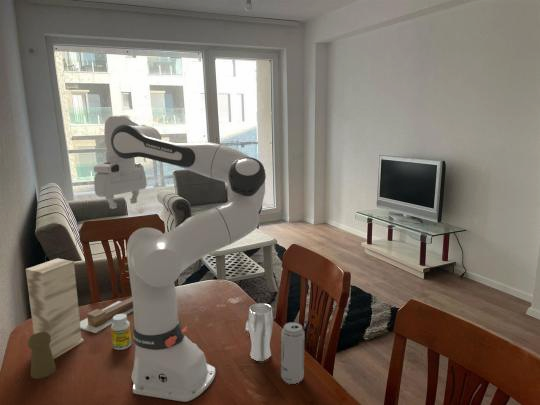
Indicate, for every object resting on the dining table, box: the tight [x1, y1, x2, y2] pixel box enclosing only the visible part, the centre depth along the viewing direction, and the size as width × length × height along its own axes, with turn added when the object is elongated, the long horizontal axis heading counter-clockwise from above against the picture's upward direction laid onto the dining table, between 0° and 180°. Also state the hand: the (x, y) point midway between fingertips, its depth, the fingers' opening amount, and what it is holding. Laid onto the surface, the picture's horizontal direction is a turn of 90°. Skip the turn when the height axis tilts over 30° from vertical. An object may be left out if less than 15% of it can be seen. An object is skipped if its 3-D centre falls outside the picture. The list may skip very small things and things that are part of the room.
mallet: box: [86, 296, 133, 328], centre depth 135 cm, size 4×18×4 cm, turn 150°
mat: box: [80, 300, 134, 334], centre depth 135 cm, size 10×20×1 cm, turn 157°
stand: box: [25, 257, 84, 360], centre depth 114 cm, size 9×10×26 cm
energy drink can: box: [280, 321, 306, 385], centre depth 101 cm, size 6×6×15 cm
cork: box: [27, 332, 57, 380], centre depth 104 cm, size 6×6×11 cm
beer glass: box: [247, 302, 274, 362], centre depth 111 cm, size 7×7×15 cm
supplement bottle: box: [110, 314, 132, 351], centre depth 116 cm, size 5×5×10 cm
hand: (123, 205), depth 131 cm, fingers open, 8 cm apart
